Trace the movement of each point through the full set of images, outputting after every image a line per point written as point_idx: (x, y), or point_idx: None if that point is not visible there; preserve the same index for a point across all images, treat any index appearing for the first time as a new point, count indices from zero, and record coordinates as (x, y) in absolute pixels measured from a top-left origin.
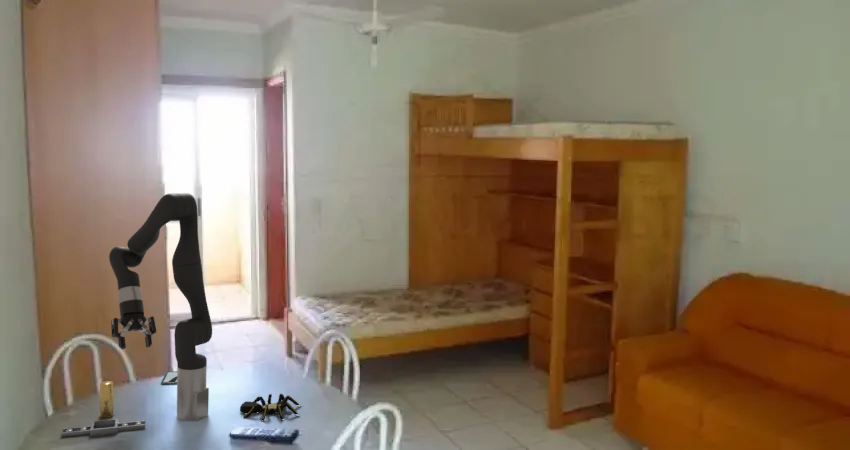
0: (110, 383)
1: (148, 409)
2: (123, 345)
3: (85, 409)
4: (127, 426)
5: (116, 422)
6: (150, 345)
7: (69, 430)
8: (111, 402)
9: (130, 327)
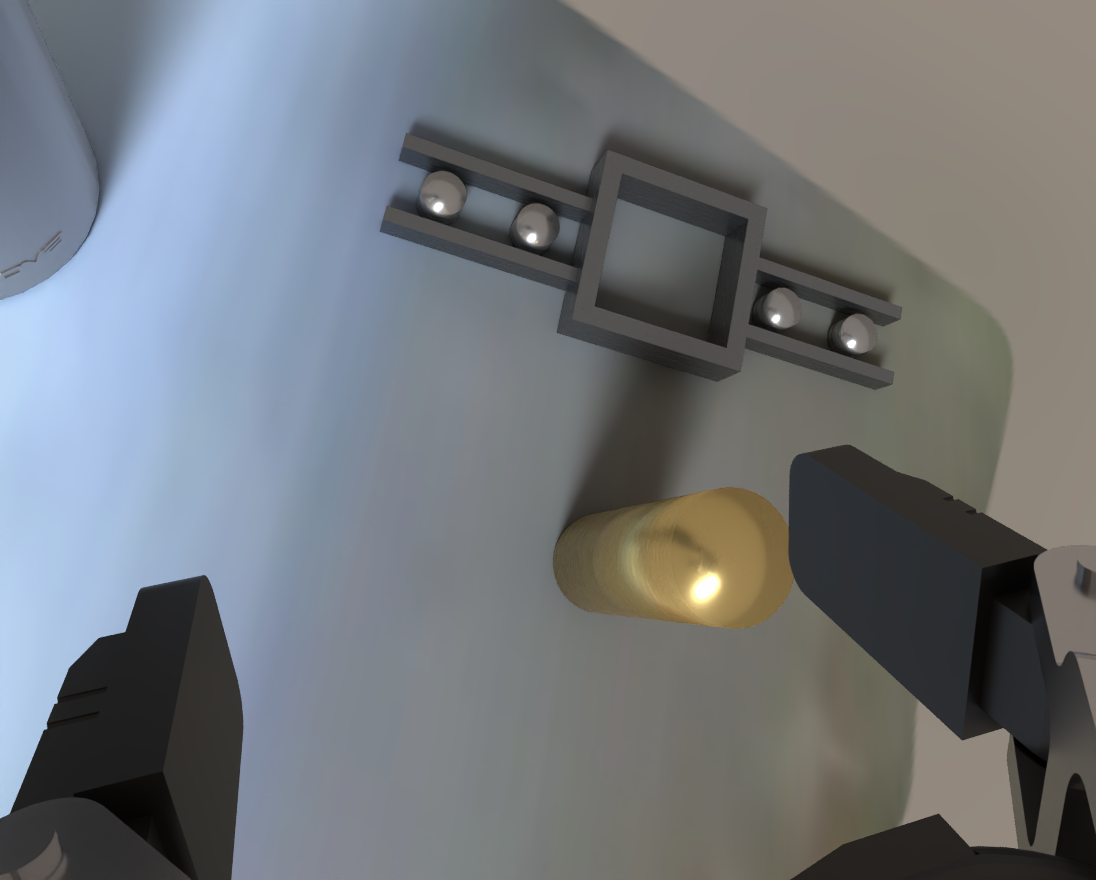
0: (701, 531)
1: (266, 538)
2: (868, 459)
3: (719, 780)
4: (528, 178)
5: (597, 244)
6: (150, 589)
7: (860, 325)
8: (615, 515)
9: (1035, 878)
